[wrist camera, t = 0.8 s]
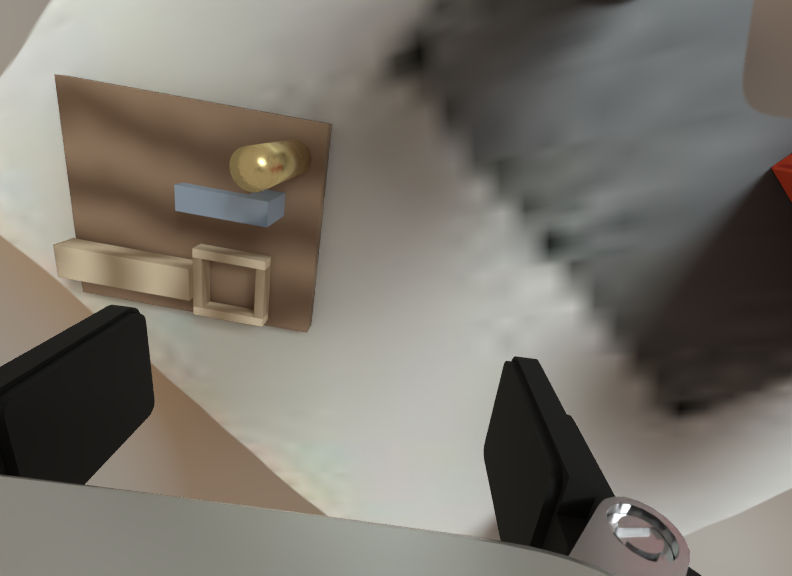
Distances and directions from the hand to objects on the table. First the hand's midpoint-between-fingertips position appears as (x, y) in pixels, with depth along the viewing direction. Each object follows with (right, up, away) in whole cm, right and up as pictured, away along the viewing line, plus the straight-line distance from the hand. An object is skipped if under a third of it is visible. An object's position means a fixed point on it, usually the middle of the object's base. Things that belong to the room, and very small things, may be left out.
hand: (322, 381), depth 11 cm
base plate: (-16, +9, +27) cm, 33 cm away
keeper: (-12, +10, +25) cm, 29 cm away
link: (-19, +4, +28) cm, 34 cm away
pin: (-6, +13, +23) cm, 28 cm away
